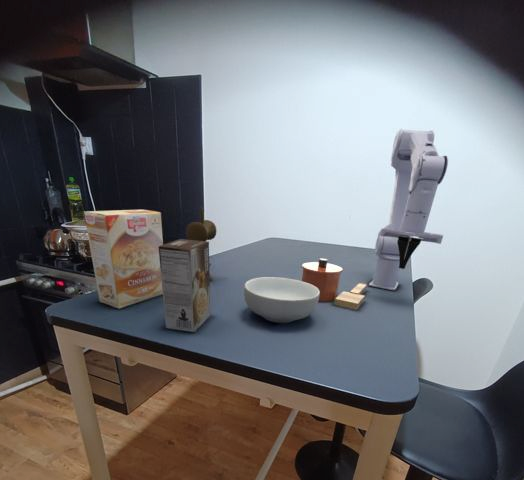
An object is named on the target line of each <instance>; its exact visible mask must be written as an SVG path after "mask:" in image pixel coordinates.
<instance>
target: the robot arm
mask: <svg viewBox="0 0 524 480" xmlns="http://www.w3.org/2000/svg"><path fill="white" fill-rule="evenodd" d="M434 141H435V132H434V130H415V129H414V130H413V129H403V128H400V129H399V130H398V131H397V132H396V134H395V137H394V140H393V144H392V150H391V157H390V163H391V164H390V166H391V167H392V168H393V169H394V170H395V180H394V187H393V194H392V202H391V207H390V214H389V222H388V224H387V225H385V226H383V227H382V228H381V229H379V231H378V233H377V238H376V240H375V241H376V242H375V246H374V253H375V256H377V261H376V265H375V269H374V274H373V278H372V280H371V281H370V282H369V284H368V286H369V287H374V288H379V289H383V290H384V289H385V290H389V291H396V290H397V288H398V286H399V284H400V283H399V282H398V278H399V275H400V272H401V269H402V270H405V269H406V267H407V264H408V262H409V260H410V258H411V256H412V255H413V253H414V252H415V251H416V250H417V248H418V247H419V246H420V244H421V242H426V243H435V244H439V245H441V244H442V242H443V238H444V234H439V233H432V232H426V227H427V224H428V220H429V217H430V214H431V210H432V207H433V203H434V200H435V197H436V193H437V190H438V187H439V185H440V184H441V183H442V182H443V180H444V178H445V176H446V173H447V169H448V165H449V158H448V155H441V156H440V155H439V152H438V150H437V148H436V146H435V144H434Z"/></svg>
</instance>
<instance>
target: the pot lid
mask: <svg viewBox="0 0 524 480" xmlns="http://www.w3.org/2000/svg"><path fill="white" fill-rule="evenodd" d="M328 261H329V260H328V259H327V258H319V259H318V261H312V262H311V261H310V262H304V263H302V264H301V268H302V270H303V269H305V270H307V271H310V272H315V273H321V274H338V273H342V272H343V268H342V267H341V266H339V265H336V264H332V263H329V262H328Z"/></svg>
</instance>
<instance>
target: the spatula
mask: <svg viewBox="0 0 524 480" xmlns="http://www.w3.org/2000/svg"><path fill="white" fill-rule="evenodd" d="M367 287H368V284H366V283H360V282H359V283H358V284H356V285H355V286H354V287H353V288H352V289H351V290H350V291H349V292H348V291H342V292H340V293H339V294H338V295H337V296H336V298H335V300H334V301H333V306H337V307H341V308H344V309H349V310H354V311H357V310H358V309H359V308H360V307H361V306H362V305H363V303H364V302H365V297H366V296H365V295H363V294H364V293H365V292H366V291H367Z"/></svg>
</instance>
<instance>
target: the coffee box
mask: <svg viewBox="0 0 524 480" xmlns="http://www.w3.org/2000/svg"><path fill="white" fill-rule="evenodd" d="M159 257H160V268H161V280H162V291H163V294H162V298H163V299H162V301H163V310H164V311H163V312H164V313H163V314H164V322H165V328H166V329H170V330H176V331H183V332H190V333H195V332H197V330H198V329H199V328H200V327H201V326H202V325H204V323H205V322H206V321H208V319H209V318H210V317H211V284H210V283H211V280H210V275H211V274H210V275H209V273H210V267H209V263H210V241H207V240H206V241H196V240H188V239H184V238H179V239H176V240H173V241H170V242H167V243H163V245H161V246H159Z"/></svg>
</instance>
